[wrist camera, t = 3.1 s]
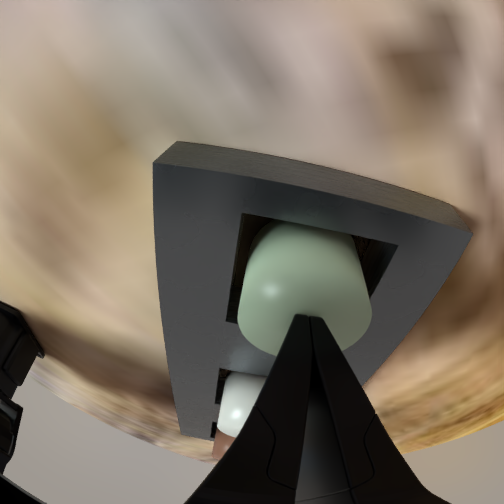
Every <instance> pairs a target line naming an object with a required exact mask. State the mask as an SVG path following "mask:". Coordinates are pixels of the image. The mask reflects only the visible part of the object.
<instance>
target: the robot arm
mask: <svg viewBox="0 0 504 504" xmlns="http://www.w3.org/2000/svg"><path fill="white" fill-rule="evenodd" d="M36 356H38V357H40V358H42V359H43V358H44V356H45V354H44V352H43V351H42V349H41V348H40V346H39V344H38V343H37V341H36V340H35V338H34V337H33V335H32V333H31V332H30V330H29V328H28V327H27V325H26V323H25V322H24V320H23V318H22V316H21V315H20V314H19V313H18V312H17V311H16V310H14V309H11V308H9V307H7V306H5V305H3V304H1V303H0V504H46V503H45V502H43V501H41V500H40V499H38V498H36V497H35V496H33V495H32V494H30V493H28V492H27V491H25V490H24V489H22V488H21V487H19V486H18V485H16V484H15V483H13V482H12V481H11V480H9V479H8V478H6V477H5V476H4V475H3V472H4V469H5V467H6V464H7V463H8V462H9V461H10V460H11V458H12V456H13V453H14V450H15V445H16V440H17V435H18V430H19V425H20V421H21V416H22V412H23V408H22V407H21V406H20V405H18V404H16V403H14V402H13V401H12V400H11V399H12V397H13V395H14V392H15V390H16V388H17V386H21V385H22V384H23V382H24V379H25V378H26V376H27V374H28V372H29V370H30V368H31V366H32V364H33V362H34V360H35V358H36ZM9 398H10V399H9ZM184 504H451V503H449V502H447V501H445V500H443V499H441V498H440V497H438V496H436V495H434V494H432V493H431V492H430V491H428V490H427V489H426V488H425V487H424V486H423V485H422V484H421V482H420V481H419V480H418V478H417V477H416V476H415V474H414V473H413V471H412V470H411V468H410V467H409V465H408V464H407V462H406V461H405V460H404V458H403V457H402V455H401V454H400V452H399V451H398V449H397V448H396V446H395V445H394V443H393V442H392V440H391V438H390V437H389V435H388V433H387V431H386V430H385V428H384V426H383V424H382V423H381V421H380V419H379V417H378V415H377V414H375V410H374V408H373V406H372V404H371V403H370V401H369V399H368V397H367V395H366V393H365V392H364V390H363V388H362V386H361V384H360V383H359V381H358V379H357V377H356V375H355V374H354V372H353V370H352V368H351V366H350V365H349V363H348V361H347V359H346V358H345V356H344V354H343V352H342V350H341V349H340V347H339V345H338V343H337V342H336V340H335V338H334V336H333V335H332V333H331V331H330V329H329V328H328V326H327V324H326V323H325V321H324V319H323V318H322V317H317V316H309V317H308V316H307V315H303V314H295V315H294V317H293V319H292V322H291V324H290V326H289V329H288V331H287V333H286V336H285V338H284V340H283V343H282V345H281V347H280V349H279V352H278V354H277V356H276V358H275V361H274V363H273V365H272V367H271V369H270V372H269V374H268V376H267V378H266V380H265V383H264V385H263V387H262V389H261V391H260V393H259V395H258V397H257V399H256V402H255V404H254V406H253V407H252V409H251V412H250V414H249V416H248V418H247V419H246V421H245V423H244V425H243V427H242V429H241V430H240V432H239V434H238V435H237V437H236V438H235V440H234V441H233V443H232V444H231V446H230V447H229V448H228V450H227V451H226V452H225V454H224V455H223V456H222V458H221V459H220V460H219V462H218V463H217V464H216V466H215V467H214V468H213V469H212V471H211V472H210V473H209V474H208V476H207V477H206V478H205V480H204V481H203V482H202V483H201V484H200V486H199V487H198V488H197V489H196V490H195V492H194V493H193V494H192V495H191V496H190V497H189V498H188V500H187V501H186V502H185V503H184Z"/></svg>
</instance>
